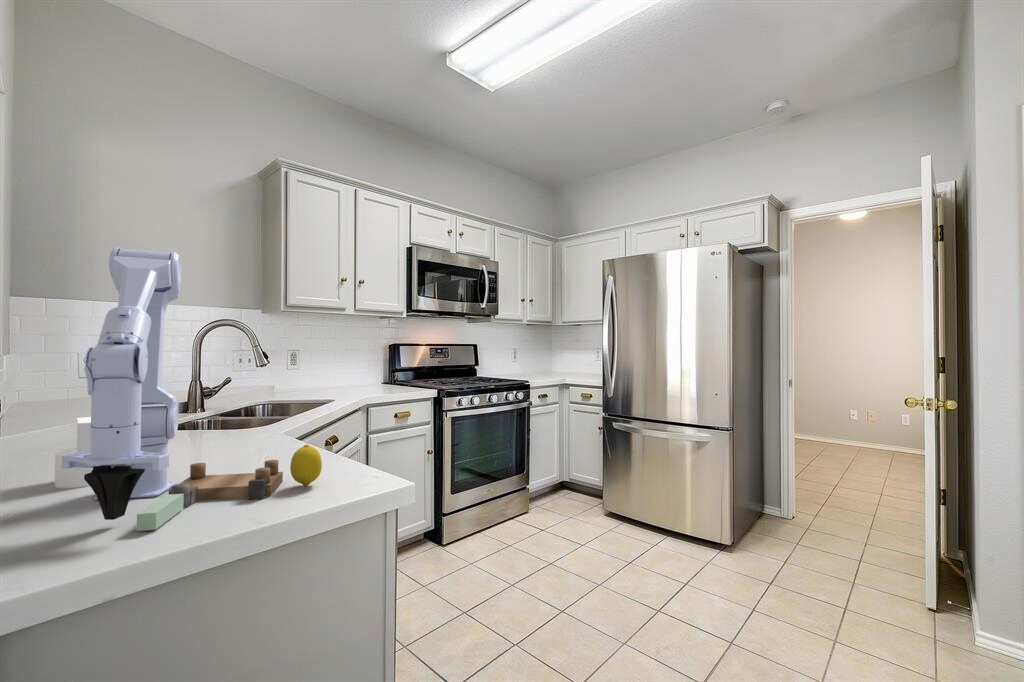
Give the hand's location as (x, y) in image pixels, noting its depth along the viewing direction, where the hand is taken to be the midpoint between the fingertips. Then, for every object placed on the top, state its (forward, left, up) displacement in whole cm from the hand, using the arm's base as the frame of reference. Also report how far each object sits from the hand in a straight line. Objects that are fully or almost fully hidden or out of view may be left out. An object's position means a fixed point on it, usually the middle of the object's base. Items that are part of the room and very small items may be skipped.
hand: (114, 517), depth 70 cm
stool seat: (+10, +13, -1) cm, 17 cm away
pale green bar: (+5, +1, -1) cm, 6 cm away
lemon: (+23, +16, -2) cm, 28 cm away
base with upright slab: (-19, +28, -2) cm, 33 cm away
